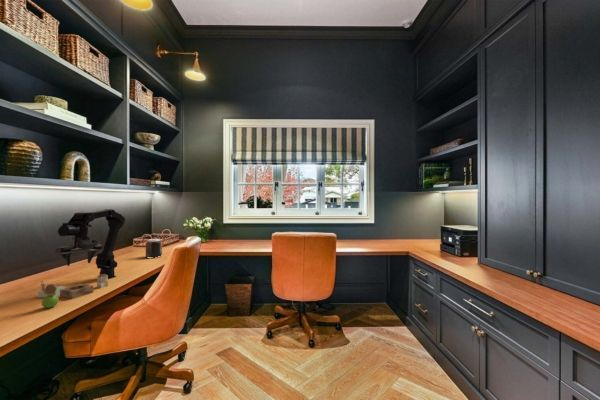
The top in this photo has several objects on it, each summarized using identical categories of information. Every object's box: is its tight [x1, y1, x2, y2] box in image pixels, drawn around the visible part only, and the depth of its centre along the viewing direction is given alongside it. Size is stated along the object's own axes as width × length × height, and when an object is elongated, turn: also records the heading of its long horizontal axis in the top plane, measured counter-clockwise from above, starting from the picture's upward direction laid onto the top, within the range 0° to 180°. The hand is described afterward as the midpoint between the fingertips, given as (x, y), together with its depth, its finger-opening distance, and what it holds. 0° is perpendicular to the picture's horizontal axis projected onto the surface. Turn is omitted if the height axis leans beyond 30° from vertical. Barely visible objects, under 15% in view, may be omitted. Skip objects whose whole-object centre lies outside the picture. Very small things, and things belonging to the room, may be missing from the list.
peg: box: [96, 274, 109, 289], centre depth 136 cm, size 3×3×6 cm
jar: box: [145, 238, 163, 258], centre depth 208 cm, size 12×12×15 cm
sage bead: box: [37, 285, 67, 298], centre depth 125 cm, size 7×7×3 cm
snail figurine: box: [40, 280, 60, 309], centre depth 110 cm, size 5×6×12 cm
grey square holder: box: [59, 283, 94, 300], centre depth 125 cm, size 9×9×4 cm
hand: (78, 264), depth 133 cm, fingers open, 9 cm apart
